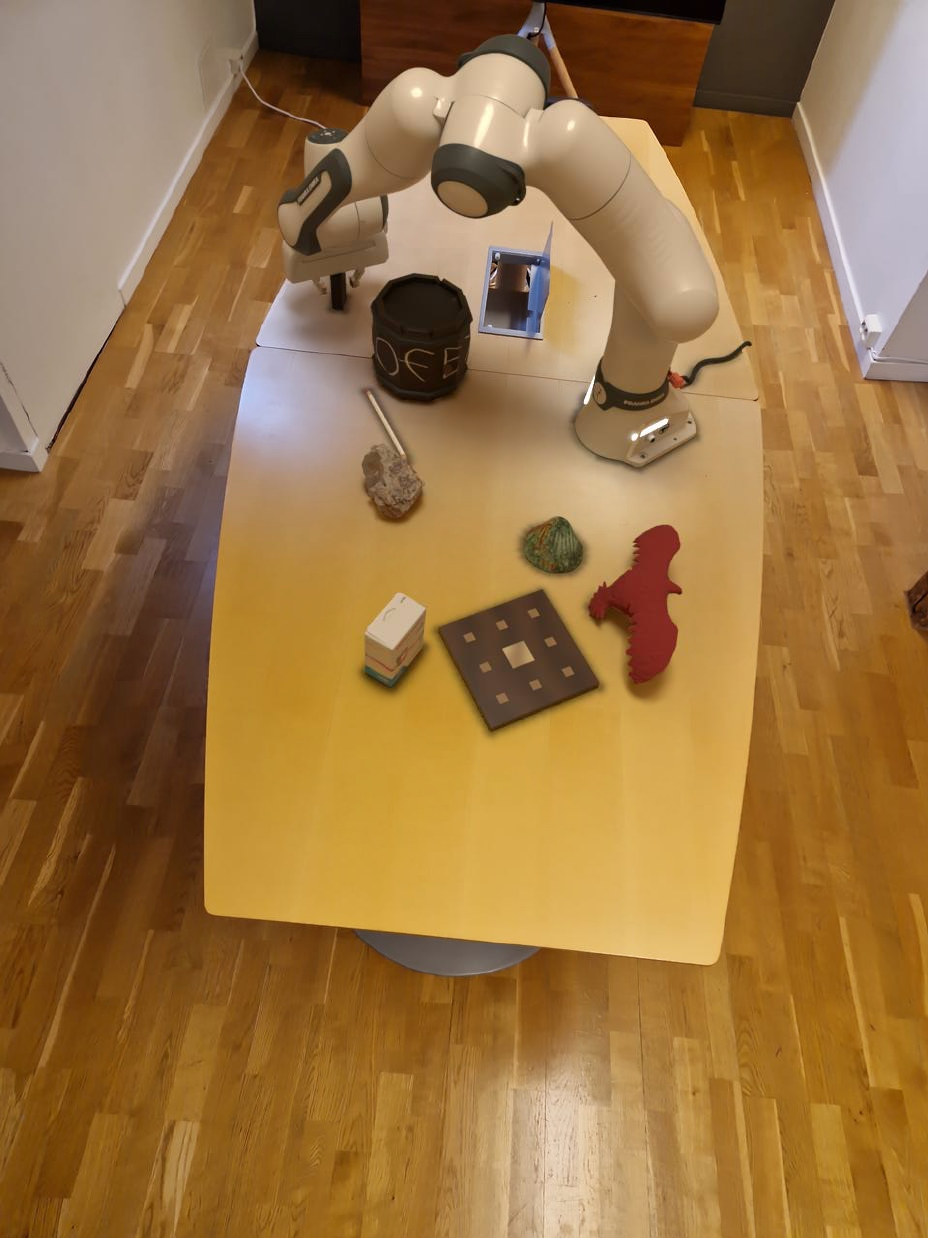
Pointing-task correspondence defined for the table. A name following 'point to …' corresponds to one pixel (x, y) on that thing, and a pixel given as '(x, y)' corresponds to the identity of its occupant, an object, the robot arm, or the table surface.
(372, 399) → the pencil
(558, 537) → the seashell
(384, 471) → the rock
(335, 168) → the robot arm
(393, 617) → the ink box
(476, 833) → the table surface
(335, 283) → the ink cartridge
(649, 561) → the decorative bird sculpture
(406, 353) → the wooden barrel
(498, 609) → the board
